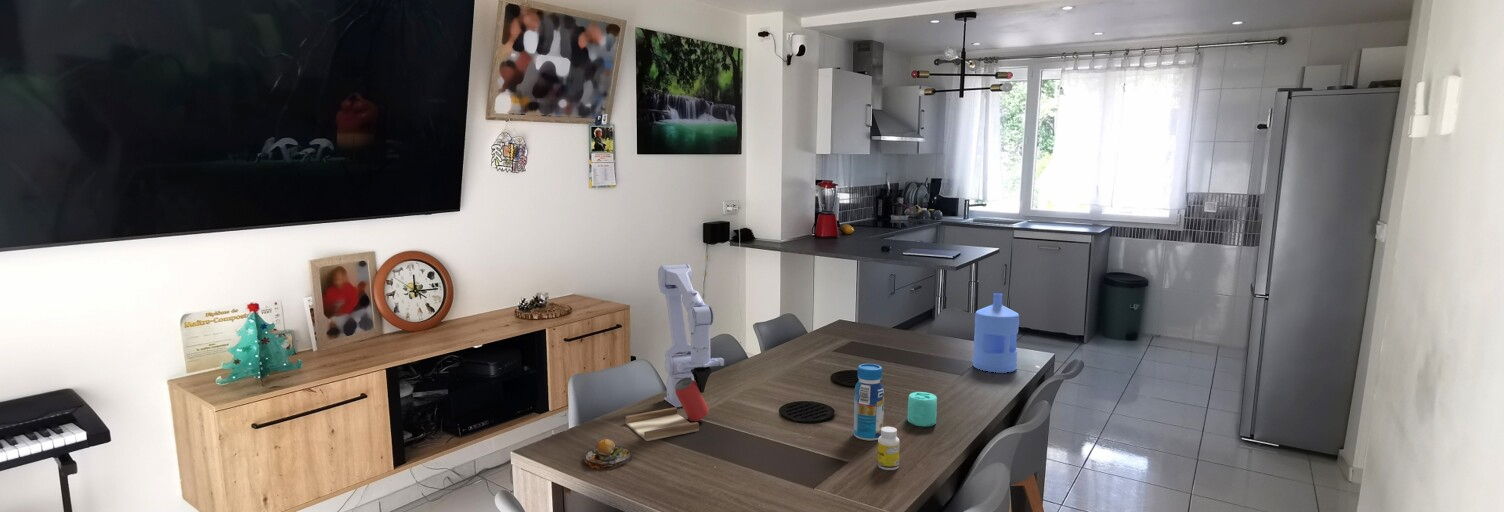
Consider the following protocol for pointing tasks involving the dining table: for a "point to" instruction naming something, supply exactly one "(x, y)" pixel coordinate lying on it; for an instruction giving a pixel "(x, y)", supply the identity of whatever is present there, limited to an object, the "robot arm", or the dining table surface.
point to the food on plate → (608, 456)
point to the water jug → (996, 338)
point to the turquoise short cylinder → (922, 409)
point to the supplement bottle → (888, 449)
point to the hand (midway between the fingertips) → (700, 391)
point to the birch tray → (660, 424)
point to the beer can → (691, 399)
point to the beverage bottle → (868, 403)
